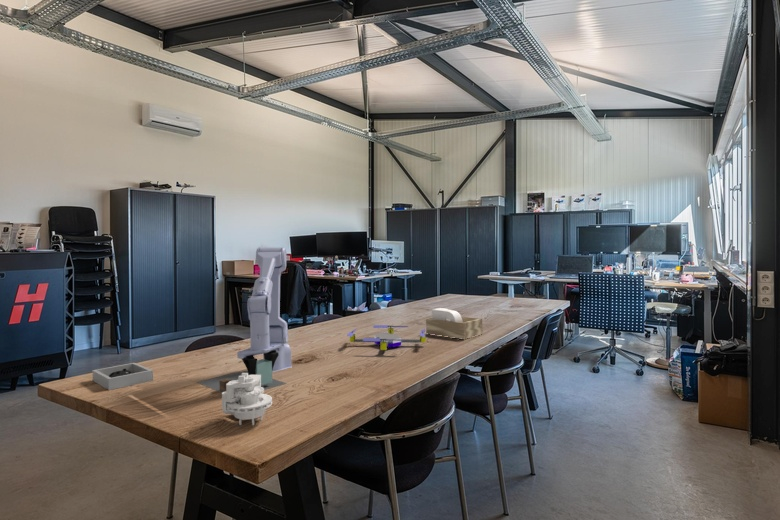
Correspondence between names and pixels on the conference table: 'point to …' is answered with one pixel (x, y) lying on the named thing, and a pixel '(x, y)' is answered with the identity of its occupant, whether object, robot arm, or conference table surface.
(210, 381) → the mat
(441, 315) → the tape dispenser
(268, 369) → the pale aqua cube
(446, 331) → the plywood crate
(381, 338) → the quadcopter drone
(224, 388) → the brown cube
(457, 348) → the conference table surface
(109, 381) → the gray hollow frame
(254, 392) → the mechanical part
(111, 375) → the game controller
